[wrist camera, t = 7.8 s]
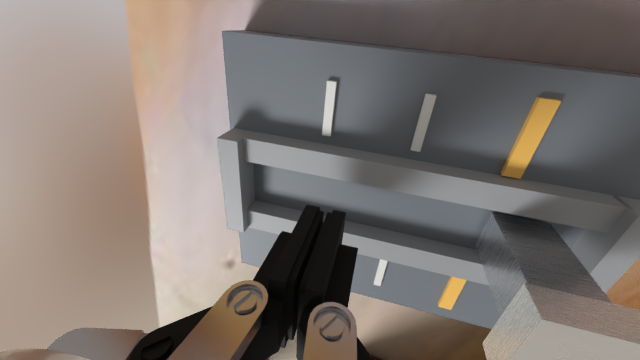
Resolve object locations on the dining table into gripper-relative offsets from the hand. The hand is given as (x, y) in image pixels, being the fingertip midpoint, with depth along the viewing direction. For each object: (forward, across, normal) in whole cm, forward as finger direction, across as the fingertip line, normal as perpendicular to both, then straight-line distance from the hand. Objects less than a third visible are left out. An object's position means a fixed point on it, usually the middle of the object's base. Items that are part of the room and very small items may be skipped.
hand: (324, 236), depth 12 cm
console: (+5, -3, 0) cm, 6 cm away
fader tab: (+3, -8, 0) cm, 9 cm away
